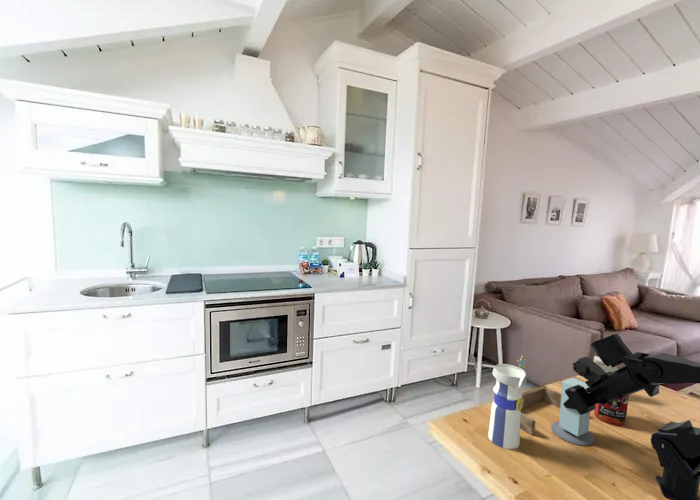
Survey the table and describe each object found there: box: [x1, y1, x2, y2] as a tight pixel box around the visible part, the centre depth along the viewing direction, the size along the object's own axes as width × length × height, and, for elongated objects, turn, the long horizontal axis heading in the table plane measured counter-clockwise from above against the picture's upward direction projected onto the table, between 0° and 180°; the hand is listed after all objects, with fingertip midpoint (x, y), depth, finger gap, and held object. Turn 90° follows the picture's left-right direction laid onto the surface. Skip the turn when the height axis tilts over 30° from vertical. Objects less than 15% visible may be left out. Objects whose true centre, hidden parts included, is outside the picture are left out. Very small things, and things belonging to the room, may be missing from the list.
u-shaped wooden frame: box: [520, 385, 562, 436], centre depth 104 cm, size 11×22×4 cm, turn 118°
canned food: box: [593, 395, 630, 427], centre depth 102 cm, size 8×8×11 cm
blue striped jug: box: [487, 355, 528, 450], centre depth 90 cm, size 8×9×25 cm
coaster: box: [550, 421, 595, 447], centre depth 95 cm, size 10×10×1 cm
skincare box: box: [593, 355, 618, 373], centre depth 117 cm, size 6×4×12 cm
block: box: [558, 377, 591, 436], centre depth 94 cm, size 5×5×13 cm
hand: (570, 403), depth 95 cm, fingers closed on block, 5 cm apart
